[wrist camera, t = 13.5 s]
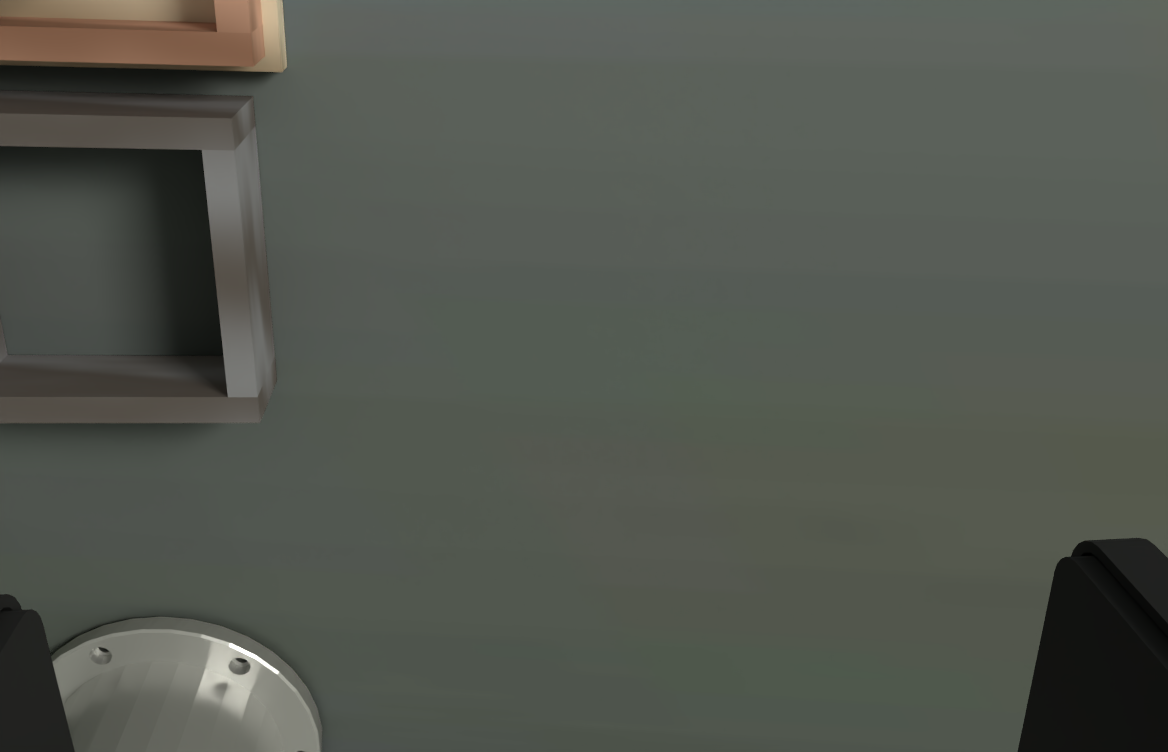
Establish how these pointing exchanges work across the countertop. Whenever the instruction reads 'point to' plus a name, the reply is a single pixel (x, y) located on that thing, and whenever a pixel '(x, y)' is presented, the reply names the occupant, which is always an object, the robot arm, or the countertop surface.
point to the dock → (154, 121)
